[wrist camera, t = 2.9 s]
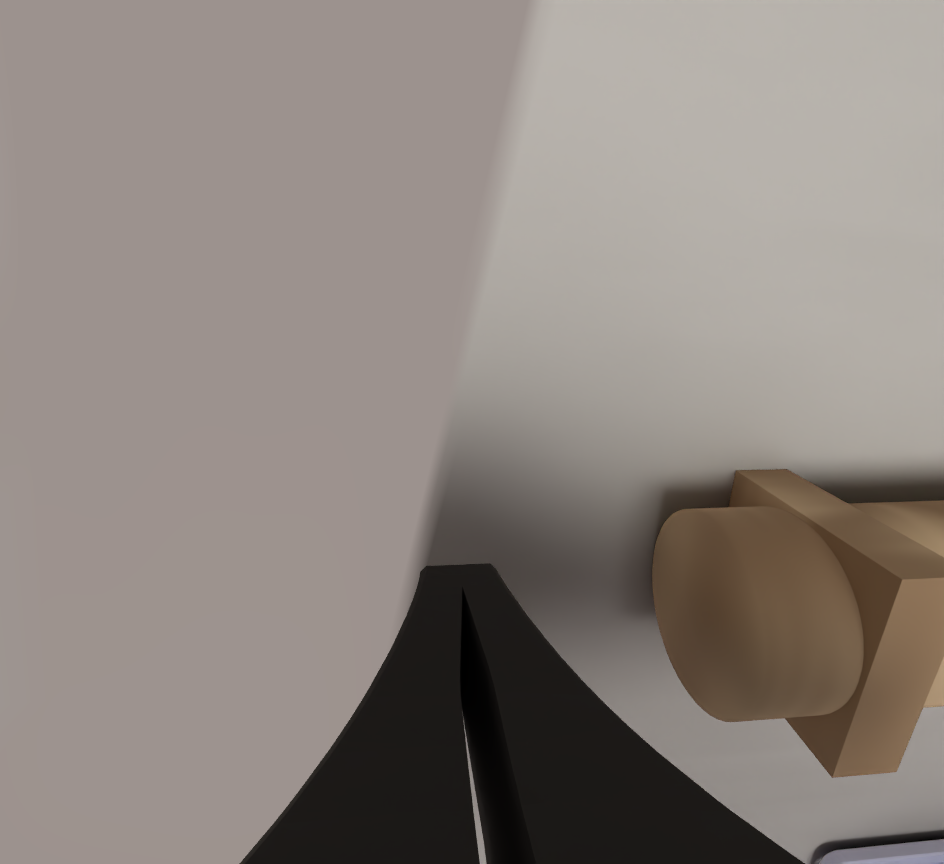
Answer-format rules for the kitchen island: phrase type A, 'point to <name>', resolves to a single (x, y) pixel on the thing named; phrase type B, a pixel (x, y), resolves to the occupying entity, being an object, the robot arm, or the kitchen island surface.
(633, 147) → the kitchen island surface
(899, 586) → the light wooden rod
